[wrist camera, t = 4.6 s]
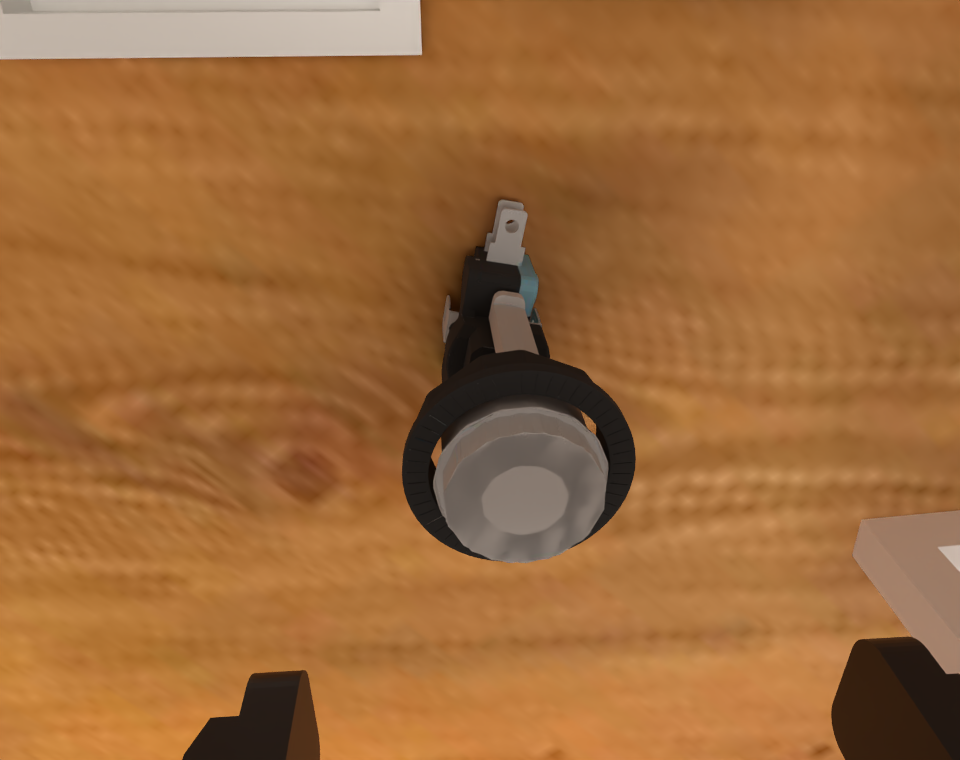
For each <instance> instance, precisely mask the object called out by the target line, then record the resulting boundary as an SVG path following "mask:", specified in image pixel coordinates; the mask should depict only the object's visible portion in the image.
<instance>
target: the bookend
mask: <svg viewBox="0 0 960 760" xmlns="http://www.w3.org/2000/svg"><path fill="white" fill-rule="evenodd" d="M852 556H853V558H854V559H855V560H856V562H857V563H858V564H859V566H860V567H861V568H862V570H863V571H864V572H865V574H866V575H867V577H868V578H869V579H870V581H871V582H872V583H873V585H874V586H875V587H876V589H877V590H878V591H879V593H880V594H881V595H882V597H883V598H884V599H885V601H886V602H887V603H888V605H889V606H890V607H891V609H892V610H893V611H894V613H895V614H896V615H897V617H898V618H899V619H900V621H901V622H902V623H903V625H904V626H905V627H906V629H907V630H908V632H909V633H910V634H911V636H912V637H913V638H916V639H917V640H919V641H920V642H921V643H922V644H924V645H925V647H926V648H927V649H928V650H929V652H930V653H931V654H932V656H933V657H934V658H935V660H936V661H937V662H938V664H939V665H940V666H941V668H942V669H943V670H944V672H945V673H946V674H956V673H959V674H960V510H958V511H947V512H937V513H926V514H915V515H905V516H894V517H883V518H873V519H862V520H861V523H860V527H859V531H858V534H857V538H856V542H855V546H854V550H853V554H852Z"/></svg>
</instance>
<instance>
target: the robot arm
mask: <svg viewBox="0 0 960 760" xmlns="http://www.w3.org/2000/svg"><path fill="white" fill-rule="evenodd" d="M831 717H832V726H833V731H834V735H835V738H836V741H837V744H838V746H839V748H840V750H841V753H842V754H843V756H844V758H845V760H960V674H959V673H956V674H946V673H945V672H944V670H943V669H942V668H941V666H940V665H939V664H938V662H937V661H936V660H935V658H934V657H933V656H932V654H931V653H930V652H929V650H928V649H927V648H926V647H925V645H924V644H922V643H921V642H920V641H919V640H917V639H916V638H913V637H894V638H877V639H861V640H858V641H857V642H856V643H855V644H854V646H853V648H852V650H851V653H850V656H849V659H848V662H847V665H846V667H845V670H844V673H843V676H842V679H841V682H840V684H839V687H838V690H837V693H836V696H835V699H834V701H833V705H832V712H831ZM183 760H320V744H319V734H318V728H317V723H316V717H315V711H314V706H313V700H312V695H311V689H310V683H309V678H308V674H307V672H306V671H305V670H302V671H285V672H268V673H254V674H252V675H251V677H250V678H249V681H248V683H247V687H246V691H245V695H244V699H243V703H242V707H241V711H240V715H239V716H232V717H216V718H210V719H209V721H208V722H207V724H206V725H205V726H204V728H203V729H202V730H201V732H200V733H199V735H198V736H197V737H196V739H195V740H194V741H193V743H192V744H191V746H190V747H189V748H188V750H187V751H186V753H185V754H184V756H183Z"/></svg>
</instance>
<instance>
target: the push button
mask: <svg viewBox="0 0 960 760" xmlns="http://www.w3.org/2000/svg"><path fill="white" fill-rule="evenodd" d="M523 209H524V206H523V204H522V203H521V202H515V201H509V200H503V199H502V200H500V201H499V202H498V207H497V212H496V217H495V222H494V227H493V232H492V233H487V238H486V243H485V248H483V247H476V250H475V254H474V256H468V255H467V256H466V258H465V263H464V268H463V275H462V290H461V304H460V310H459V312H455V311H452V310H451V303H450V295H447V298H446V304H445V309H444V315H443V322H442V330H443V342H444V343H446V344H445V353H444V358H443V364H442V384H440V385H439V386H437V387H436V388H435V389H433V390H432V391H430V392H429V393H428V394H427V396H426V398H425V401H424V403H423V405H422V408H421V410H420V412H419V415H418V417H417V419H416V421H415V422H414V424H413V426H412V428H411V430H410V432H409V434H408V437H407V440H406V443H405V448H404V453H403V465H402V478H403V487H404V492H405V495H406V498H407V501H408V504H409V506H410V508H411V510H412V512H413V513H414V515H415V517H416V518H417V520H418V521H419V522H420V523H421V525H422V526H423V527H424V528H425V529H426V530H427V531H428V532H429V533H430V534H431V535H432V536H434V537H435V538H436V539H438V540H439V541H440V542H442V543H444V544H445V545H447V546H449V547H450V548H452V549H455V550H457V551H459V552H461V553H464V554H467V555H469V556H473V557H477V558H481V559H486V560H493V561H504V562H507V563H513V562H519V563H528V562H532V561H536V560H541V559H549V558H551V557H553V556H556V555H560V554H561V553H563V552H564V551H566V550H567V549H570V548H572V547H574V546H576V545H578V544H580V543H581V542H583V541H585V540H586V539H588V538H589V537H591V536H592V535H593V534H595V533H596V532H597V531H599V530H600V529H601V528H602V527H603V526H604V525H605V524H606V523H607V522H608V521H609V520H610V519H611V518H612V517H613V516H614V514H615V513H616V512H617V510H618V509H619V508H620V506H621V505H622V503H623V501H624V500H625V498H626V496H627V494H628V491H629V489H630V486H631V483H632V480H633V476H634V471H635V460H636V458H635V447H634V441H633V437H632V434H631V431H630V429H629V426H628V424H627V422H626V420H625V418H624V416H623V414H622V412H621V410H620V409H619V407H618V406H617V404H616V403H615V402H614V401H613V399H612V398H611V397H610V396H609V395H608V394H607V393H606V392H605V391H604V390H603V389H601V388H600V387H599V386H598V385H596V384H595V383H593V381H592V380H591V379H590V378H589V376H588V375H587V374H586V373H585V372H584V371H583V370H581V369H578V368H575V367H572V366H569V365H567V364H564V363H561V362H558V361H555V360H552V359H550V354H549V348H548V345H547V342H546V339H545V336H544V333H543V330H542V323H540V317H539V315H538V312H537V309H536V308H534V309H533V310H532V308H533V304H534V303H535V300H536V296H537V291H538V284H539V280H538V276H537V274H535V271H534V269H533V266H532V263H531V261H530V258H529V256H528V255H525V254H524V252H525V247H521V243H522V239H523V234H524V230H525V225H526V221H527V216H528V214H527V213H526V211H523ZM509 220H514V221H513V222H512V223H509V224H508V223H506V222H507V221H509ZM531 312H532V314H531ZM530 316H531V318H530ZM529 321H530V322H529ZM581 411H582V412H584V413H585V414H586V415H587V416H589V417H590V418H591V419H592V420H593V421H594V423H595V424H596V436H595V435H594V434H593V433H592V432H591V431H590V430H589V429H587V427H586V424H585V421H584V419H583V416H582V413H581ZM440 437H441V442H442V453H441V455H440V457H439V460H438V464H437V468H436V467H435V465H434V463H433V461H432V459H431V455H432V452H433V450H434V447H435V445H436V443H437V441H438V440H439V438H440Z"/></svg>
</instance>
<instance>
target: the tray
mask: <svg viewBox="0 0 960 760" xmlns="http://www.w3.org/2000/svg"><path fill="white" fill-rule="evenodd" d="M369 55H422V37H421V11H420V0H0V59H80V58H177V57H273V56H369Z"/></svg>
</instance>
